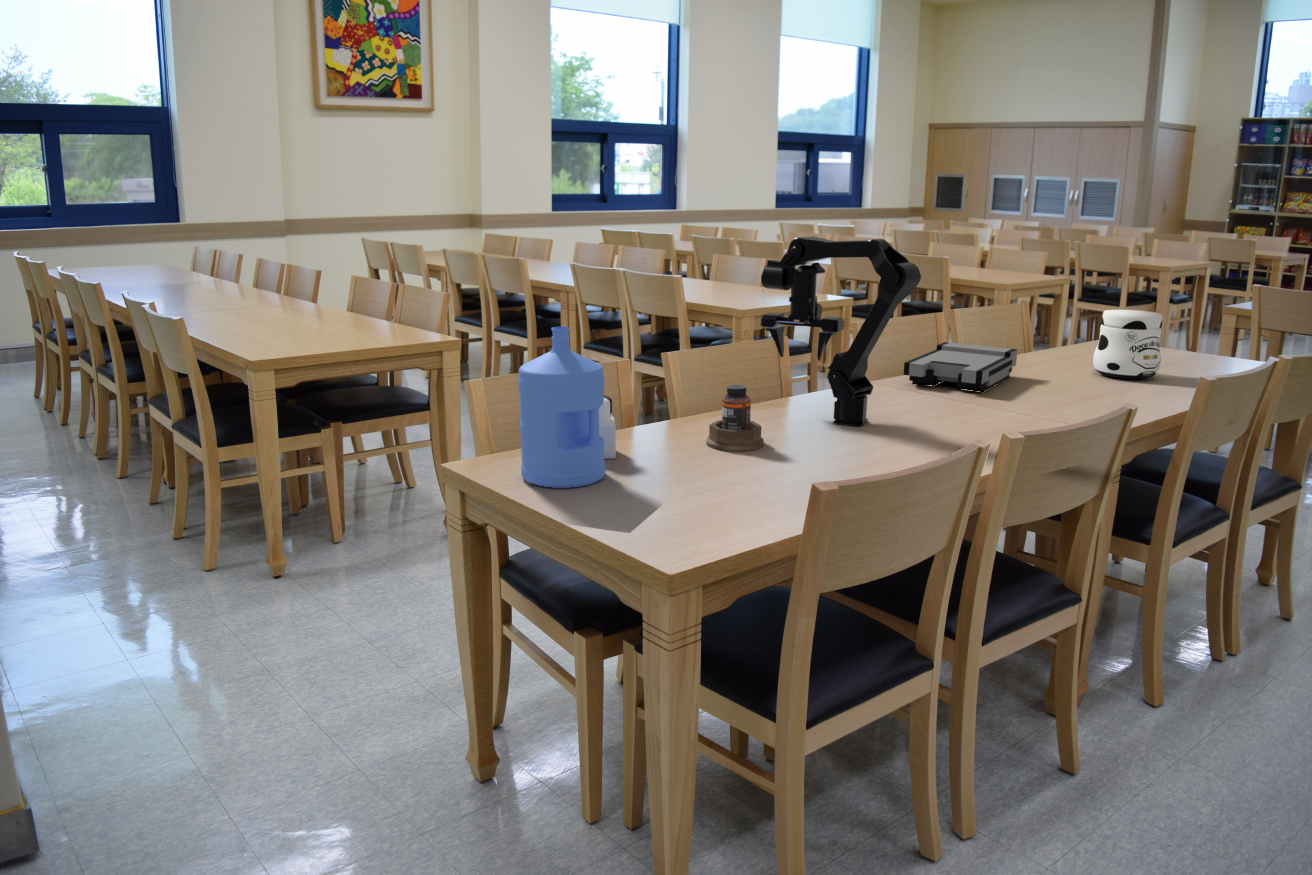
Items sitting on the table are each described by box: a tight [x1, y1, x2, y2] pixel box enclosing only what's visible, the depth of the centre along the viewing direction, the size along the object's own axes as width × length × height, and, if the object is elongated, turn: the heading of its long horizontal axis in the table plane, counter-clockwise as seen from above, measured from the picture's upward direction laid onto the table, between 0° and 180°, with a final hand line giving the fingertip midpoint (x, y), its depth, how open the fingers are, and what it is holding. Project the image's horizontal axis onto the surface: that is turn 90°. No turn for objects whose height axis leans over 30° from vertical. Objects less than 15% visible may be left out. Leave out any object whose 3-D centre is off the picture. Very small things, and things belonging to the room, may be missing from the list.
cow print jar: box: [1092, 309, 1163, 380], centre depth 274 cm, size 17×17×18 cm
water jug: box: [517, 326, 606, 489], centre depth 178 cm, size 16×16×28 cm
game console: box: [903, 341, 1019, 393], centre depth 267 cm, size 21×32×8 cm, turn 145°
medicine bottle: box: [599, 395, 617, 460], centre depth 194 cm, size 7×7×12 cm
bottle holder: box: [706, 419, 765, 453], centre depth 204 cm, size 12×12×4 cm
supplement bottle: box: [721, 384, 752, 431], centre depth 203 cm, size 6×6×11 cm
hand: (800, 358), depth 229 cm, fingers open, 9 cm apart
